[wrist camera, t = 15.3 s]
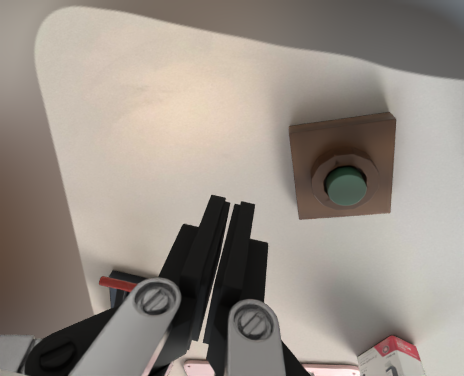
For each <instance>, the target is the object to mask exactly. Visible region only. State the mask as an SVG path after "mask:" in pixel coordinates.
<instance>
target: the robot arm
mask: <svg viewBox="0 0 464 376" xmlns="http://www.w3.org/2000/svg"><path fill="white" fill-rule="evenodd" d="M225 200H226V198H224V197H220V196H215V195H211V197H210V200H209V202H208V205H207V207H206V210H205V213H204V215H203V218H202V220H201V223H200V226H199V227H196V226H192V225H187V224H183V225H182V227H181V229H180V231H179V233H178V236H177V238H176V240H175V242H174V244H173V246H172V248H171V251H170V253H169V255H168V257H167V259H166V261H165V264H164V266H163V268H162V270H161V272H160V274H159V276H158V278H150V279H146V280H144V281H142V282H140V283H138V284H137V285H136V286H135V287H134V288H133V290H132V291H131V292H130V294H129V295H128V296H127V298H126V299H125V300H124V302H123V303H122V304H120V305H118V306H116V307H113V308H111V309H109V310H106V311H104V312H102V313H99V314H97V315H95V316H92V317H90V318H88V319H85V320H83V321H81V322H78V323H76V324H73V325H71V326H69V327H66V328H64V329H62V330H59V331H57V332H55V333H52V334H51V335H49V336H47V337H45V338H43V339H35V336H34V335H0V376H168V375H169V373H170V371H171V368H172V366H173V363H174V360H176V359H178V358H179V357H181V356H183V355H184V354H186V352H187V350H189V348H190V345H191V341H192V340H194V341H198V339H199V335H200V331H201V328H202V324H203V320H204V316H205V312H206V308H207V304H208V301H209V297H210V293H211V289H212V285H213V281H214V278H215V274H216V270H217V266H218V262H219V258H220V253H221V248H222V243H223V238H224V233H225V228H226V223H227V218H228V213H229V207H230V203H229V202H225ZM254 209H255V204H251V203H247V202H242V201H241V204H240V205H238V204H235V205H234V209H233V212H232V216H231V220H230V224H229V228H228V232H227V236H226V240H225V244H224V248H223V252H222V256H221V259H220V263H219V267H218V271H217V275H216V279H215V284H214V288H213V293H212V298H211V304H210V309H209V314H208V319H207V324H206V329H205V334H204V339H203V343H206V344H209V347H208V352H207V357H206V359H207V361H208V362H209V364H210V366H211V367H212V369H213V371H214V376H311V375H310V374H309V373H308V372H307V370H306V369H305V368H304V367H303V366H302V364H301V363H300V362H299V361H298V360H297V358H296V357H295V356H294V355H293V353H292V352H291V351H290V350H289V349H288V347H287V346H286V345H285V344H284V343H283V341H282V340H281V335H280V328H279V322H278V319H277V316H276V314H275V313H274V311H273V310H272V309H271V308H270V307H269V306H268V305H267V304H265V303H264V296H265V282H266V269H267V255H268V243H266V242H262V241H258V240H253V239H250V235H251V228H252V222H253V215H254Z"/></svg>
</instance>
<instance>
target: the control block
mask: <svg viewBox="0 0 464 376" xmlns="http://www.w3.org/2000/svg"><path fill="white" fill-rule="evenodd" d="M395 131H396V118H395V117H394V116H393V115H392V114H391V113H390V112H386V113H379V114H372V115H365V116H358V117H351V118H344V119H337V120H330V121H323V122H315V123H308V124H301V125H294V126H289V137H290V146H291V154H292V163H293V171H294V180H295V188H296V197H297V206H298V214H299V220H302V219H316V218H331V217H345V216H359V215H373V214H387V213H390V210H391V194H392V178H393V163H394V147H395ZM340 167H352V168H355V169H357V170H358V171H359V172H360V173H361V174H362V177H363V179H364V181H365V184H366V188H367V189H366V193H365V195H364V197H363V198H362V199H361V200H360V201H359V202H357V203H355V204H353V205H348V206H343V205H339V204H336V203H334V202H333V201H332V200H331V199H330V198H329V195H328V191H327V187H326V180H327V177H328V176H329V174H330V173H331V172H332V171H334V170H335V169H337V168H340Z"/></svg>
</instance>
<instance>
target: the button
mask: <svg viewBox="0 0 464 376" xmlns="http://www.w3.org/2000/svg"><path fill="white" fill-rule="evenodd" d="M326 187H327V191H328V195H329V198H330V199H331V200H332V201H333V202H334V203H336V204H339V205H343V206H348V205H353V204H355V203H357V202H359V201H360V200H361V199H362V198H363V197H364V195H365V193H366V189H367V188H366V184H365V181H364V179H363V177H362V174H361V173H360V172H359V171H358V170H357V169H355V168H352V167H340V168H337V169H335V170H334V171H332V172H331V173H330V174H329V176H328V177H327V180H326Z"/></svg>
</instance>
